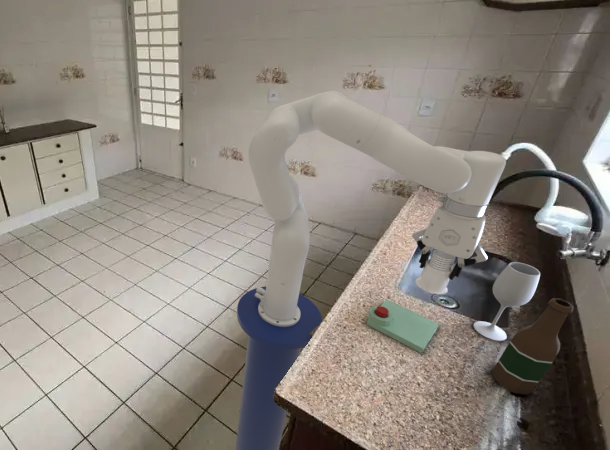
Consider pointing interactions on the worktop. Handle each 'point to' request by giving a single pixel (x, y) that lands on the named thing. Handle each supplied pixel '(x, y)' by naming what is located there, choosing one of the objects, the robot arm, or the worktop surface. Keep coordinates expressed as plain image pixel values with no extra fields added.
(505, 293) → the wineglass
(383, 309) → the button
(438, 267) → the downlight
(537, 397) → the worktop surface
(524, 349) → the beer bottle
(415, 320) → the scale
